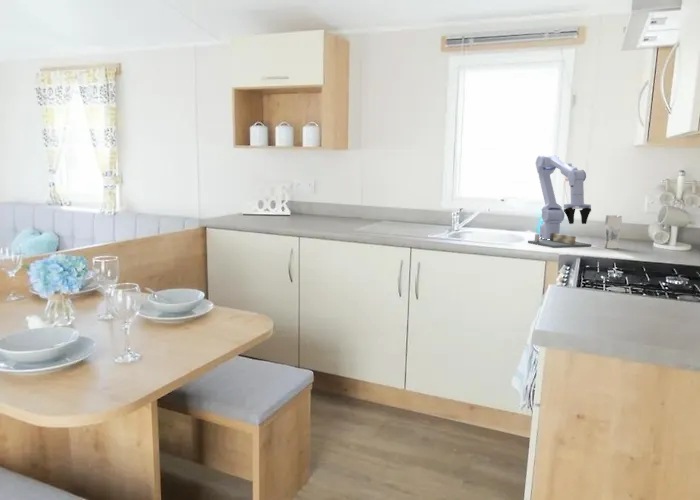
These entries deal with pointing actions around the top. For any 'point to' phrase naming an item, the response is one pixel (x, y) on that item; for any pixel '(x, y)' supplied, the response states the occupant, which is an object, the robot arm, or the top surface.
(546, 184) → the robot arm
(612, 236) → the beer glass
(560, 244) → the gate board
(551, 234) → the gate
